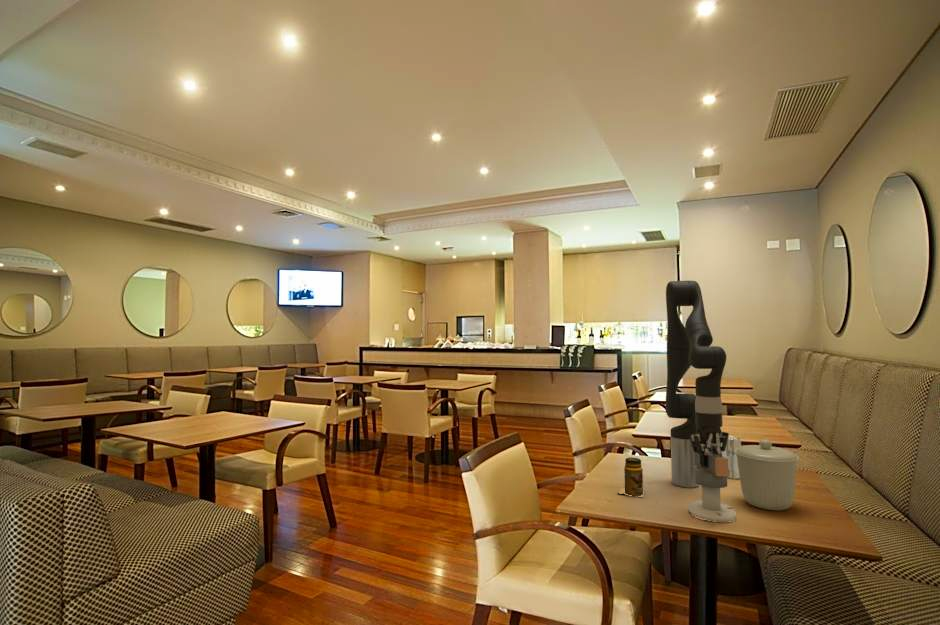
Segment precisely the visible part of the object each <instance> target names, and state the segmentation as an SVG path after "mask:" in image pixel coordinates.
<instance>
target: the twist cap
mask: <svg viewBox="0 0 940 625" xmlns="http://www.w3.org/2000/svg"><path fill="white" fill-rule="evenodd" d="M703 451H704V448H703ZM707 456H708V468H704V467H702V466H701V465H700V454H698V453H695V452H694V465H695V466H698V467H695V468H694V471H695V483H697V484H699V486H701V487H702V486H705V487H711V488H720V489H723V488H726V487H728V478H727V476H729V474H728V458H725V457H722V455H721V454H720V455H717V454H715V453H713V452H712V451H711V450H708V454H707Z"/></svg>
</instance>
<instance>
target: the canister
mask: <svg viewBox="0 0 940 625" xmlns="http://www.w3.org/2000/svg"><path fill="white" fill-rule="evenodd" d="M734 453H735V454H736V455H737V463H738V469H739V476H740V479H739V482H740V487H741V493H742V496H743V498H744V500H745V502H746V503H747V504H749V505H751V506H753V507H756V508H759V509H762V510H766V511H767V510H768V511H786V510H788V509H790V508H791V507H792V505H793V502H794V496H795V487H796V479H797V478H796V477H797V476H796V475H797V468H798V467H797V465H798V462H799V461H800V456H799V455H797V454H795V453H794V452H793V451H791V450H789V449H785V448H781V447H776V446H773V442H772V441H770V440H769V439H766V438H765V439H760V440H759V441H758V444H747V445H741V447H739V448H738V449H735V450H734Z"/></svg>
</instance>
